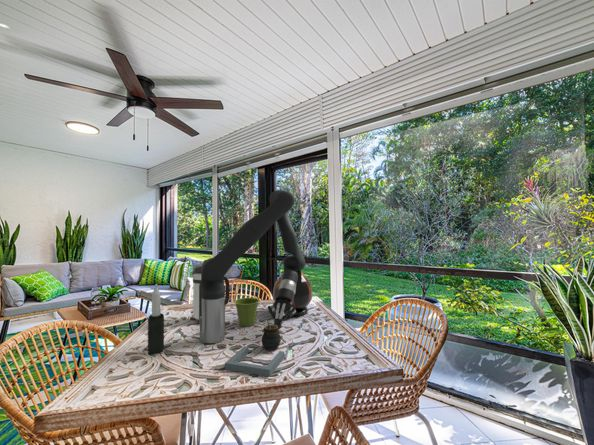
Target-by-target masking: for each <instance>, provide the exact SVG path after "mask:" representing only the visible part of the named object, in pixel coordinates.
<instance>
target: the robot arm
mask: <svg viewBox="0 0 594 445" xmlns="http://www.w3.org/2000/svg"><path fill="white" fill-rule="evenodd" d="M295 199H296V198H295V195H294V194H293V192H291V191H288V190H283V189H281V190H280V189H279V190H278V189H276V190H273V192H271V193H270V196H269V206H268V207H266V209H264V210H263V211H261V212H260V213H258V214H256V215H254V216H253V217H251V218H250V219H249V220H246V222H245V223H244V224H243V225H241V227H240V228H239V229H238V230H237V231H236V232H235V233H234V235H233V236H232V237H231V239H230V240H229V241H228V243H227V244H226V246H224V248H223V249H222V250H220V251H219V253H217V254H216V255H215V256H214V257H209V258H208V259H205V260H206V261H205V262H204V261H203V263H202V264H201V265H202V268H201V292H202V316H200V324H199V341H201V342H202V343H205V344H216V343H220V342H222V341H224V340H225V339H226V305H225V299H226V288H225V281H224V276H225V275H226V274H227V273H228V272H229V271H230V269H231V268H232V267H233V265H234V264H235V263H236V262H237V261H238V260H239V259H240V258H241V257H242V256H243V255H244V254H246V253H247V252H248V251H249V250H250V249H251V248H252V247H253V246H254V245H255V244H256V243H257V242H258V241H259V240H260V239H261V238H262V237H263V236H264V235H265V233H266V232H268V230H270V228H271V227H273V225H275V223H277V227H278V229H279V233H280V237H281V242H282V246H283V250H284V252H285V253H286V254H290V255H287V256H285V258H283V260H284V262H283V264H282V266H283V272H284V273H283V272H282V273H283V278H282V281H281V284H280V286H279V290H278V293H277V296H276V301H274V302H273V303H272V305H268V306H267V309H268V311H269V313H270V315H271V317H272V320H274V323H273V325H277V326H278V331H280V329H281V328H282V324H283V322H284V321H285V322H288V320H289V319H291V318H292V317H294V316H293V315H294V314H295V313H296V310H295V308H293V305H292V303H293V299H294V295H295V291H296V284H297V280H298V274H297V273H296V272H295V271H293V270H301V271H302V270H304V269H305V267H306V259H305V257H304V255H303V253H302V252H301V249H300V247H299V244H298V243H299V242H298V237H297V234H296V231H295V229H294V227H293V225H292V223H291V221H290V218H289V213H288V212H289V211H291V209H293V207H294V205H295ZM274 310H275V313H274ZM288 311H289V312H288ZM287 312H288V313H287ZM286 313H287V314H286Z"/></svg>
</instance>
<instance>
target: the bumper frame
mask: <svg viewBox="0 0 594 445" xmlns="http://www.w3.org/2000/svg"><path fill="white" fill-rule="evenodd" d="M249 349H250V348H249V346H243V347H242V348H241V349H239V350H238V351H237V352H236V353H235V354H233V355H232V356H231V357H230V358H229V359H228V360H226V361H225V362H224V370H228V371H233V372H240V373H245V374H252V375H259V376H265V377H271V376H272V374H273V373H274V372H275V370H277V368H278V366H280V364H281V363H282V362H283V361H284V359H285V354H286V353H285V351H281V350H279V351H278V353H277V354H276V355H275V356H274V357H273V358H272V359H271V360H270V362H269V363H268V364H267V366H266V365H260V364H253V363H246V362H240V361H241V360H243V358H245V357H246V356H247V355H248V354H249V353H250V352H249V351H250V350H249Z"/></svg>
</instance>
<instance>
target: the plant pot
mask: <svg viewBox="0 0 594 445" xmlns="http://www.w3.org/2000/svg"><path fill="white" fill-rule="evenodd" d="M259 302H260V299H259V298H256V297H243V298H238V299H235V300H234V304H235V307H236V311H237V318H238V324H239V326H240V327H243V328H244V327H252V326H255V324H256V318H257V311H258V305H259Z"/></svg>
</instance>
